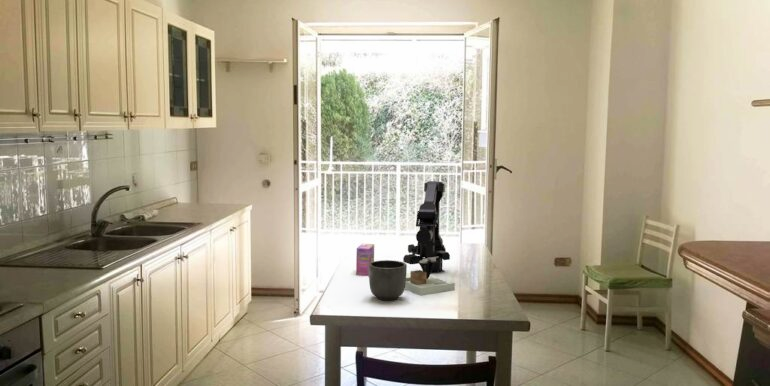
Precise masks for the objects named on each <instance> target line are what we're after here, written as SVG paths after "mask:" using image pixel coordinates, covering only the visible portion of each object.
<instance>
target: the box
mask: <svg viewBox="0 0 770 386" xmlns="http://www.w3.org/2000/svg"><path fill="white" fill-rule="evenodd" d="M374 261H375V244H373V243H361V244H360V245H358V246H357V247H356V262H355V264H356V265H355V266H356V271H355V272H356V273H355V274H356V275H357V276H366V277H367V276H368V277H369V264H370V263H371V262H374ZM356 275H355V276H356Z"/></svg>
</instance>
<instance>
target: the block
mask: <svg viewBox="0 0 770 386" xmlns="http://www.w3.org/2000/svg"><path fill="white" fill-rule="evenodd" d="M410 273H411V281H410V283H413V284H415V285H421V284H426V275H427V272H424V271H423V270H422V269H421V270H420V269H418V270H411V271H410Z"/></svg>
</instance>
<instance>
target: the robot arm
mask: <svg viewBox="0 0 770 386" xmlns="http://www.w3.org/2000/svg"><path fill="white" fill-rule="evenodd" d="M445 191H446V185H445V183H443V181H437V180H434V181H432V180H431V181H430V180H429V181H426V182H424V185H423V192H425V196H424V200H423V203H422V204H420V205H419V209H418V210H417V212H416V220H415V221H416V222H415V227H419V230H418V231H417V233H416V234H415V239H416V241H417V245H415V244H413V243H412V244H408V245H407V252H408V253H409V254H404V256H403V257H402V258H403V259H402V260H403V261H402V262H404V263H405V264H409V265H419V266H420V268H421V271H424V272H427V275H426V279H428V278H429V276H431V274H436V273H437V274H438V273H442V272H443V273H444V272H445V269H443V261H450V259H451V255H450V253H449V252H448V251H446V246H445V244H444V240H443V238H442V237H441V235H440V211H441V210H440V209H441V208H440V207H441V205H440V202H441V200H442V199H443V197H444V193H445Z"/></svg>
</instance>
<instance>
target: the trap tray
mask: <svg viewBox="0 0 770 386" xmlns="http://www.w3.org/2000/svg"><path fill="white" fill-rule="evenodd" d="M410 281H411V272H408V273H407V272H406V284H405V290H407V291H409V292H411V293H413V294H416V295H419V296H425V295H431V294H437V293H444V292H451V291H455V290H456V289H455V288H456V287H455V286H456V283H455V282H448V283H447V282H446V280H443V279H440V278H437V277H434V276H432V275H430V276H429V278H428V279H426V284H421V285H415V284H413V283H410Z"/></svg>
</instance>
